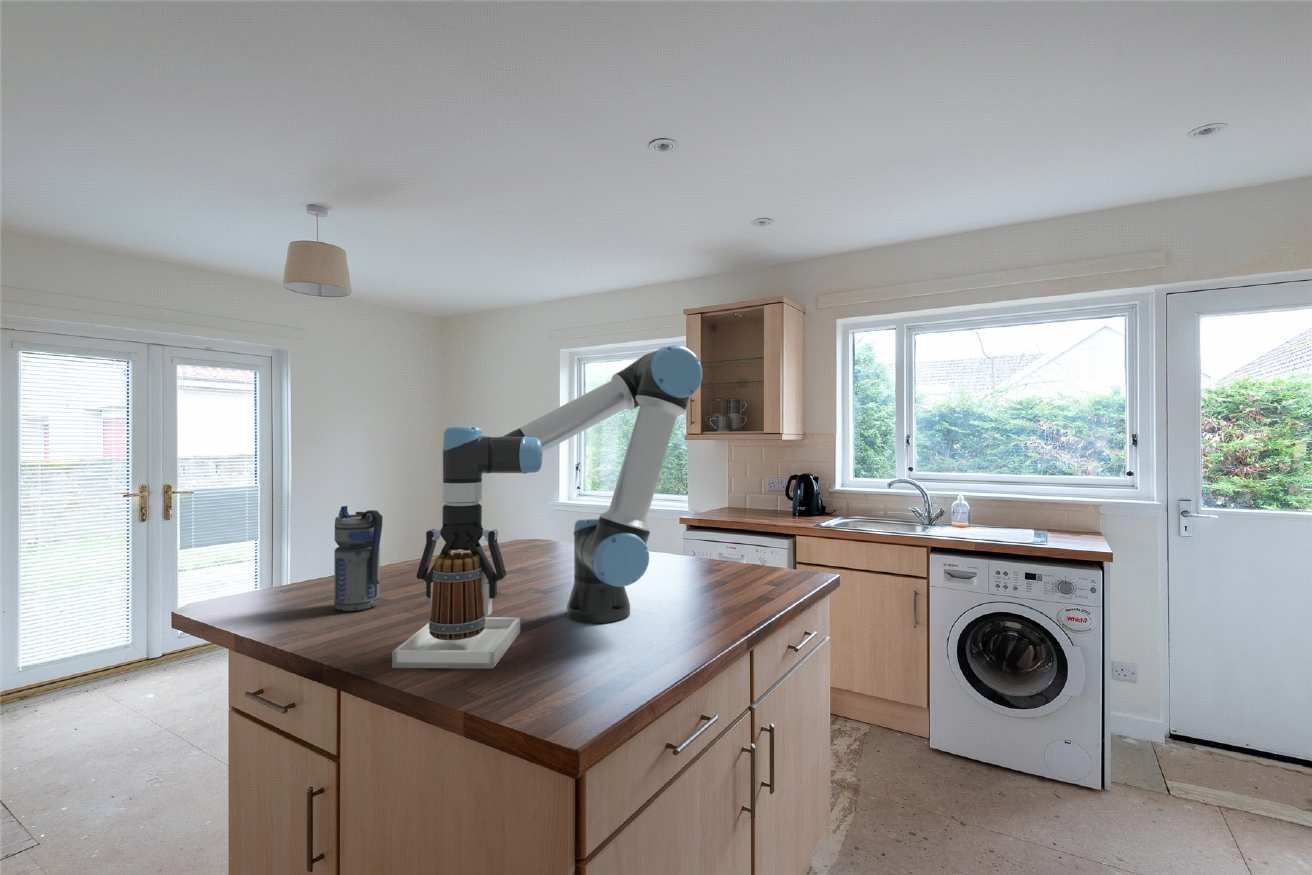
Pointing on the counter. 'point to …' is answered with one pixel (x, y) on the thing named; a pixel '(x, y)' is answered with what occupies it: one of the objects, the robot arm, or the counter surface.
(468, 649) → the white tray
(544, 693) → the counter surface
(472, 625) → the mug
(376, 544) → the grey blue grenade canister
